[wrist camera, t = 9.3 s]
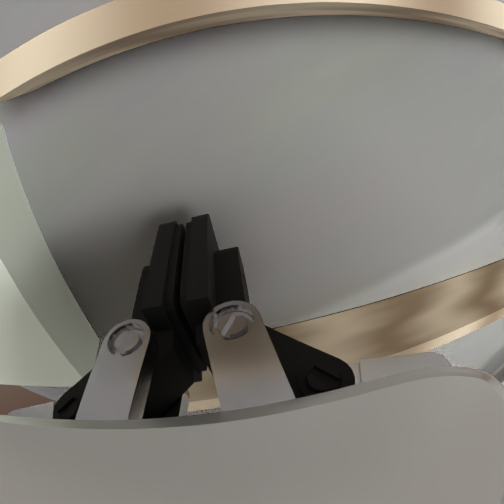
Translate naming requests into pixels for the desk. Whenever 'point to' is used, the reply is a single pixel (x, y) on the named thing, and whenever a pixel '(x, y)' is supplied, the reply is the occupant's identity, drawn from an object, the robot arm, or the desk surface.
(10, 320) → the cover plate
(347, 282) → the desk surface
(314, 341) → the wooden frame
